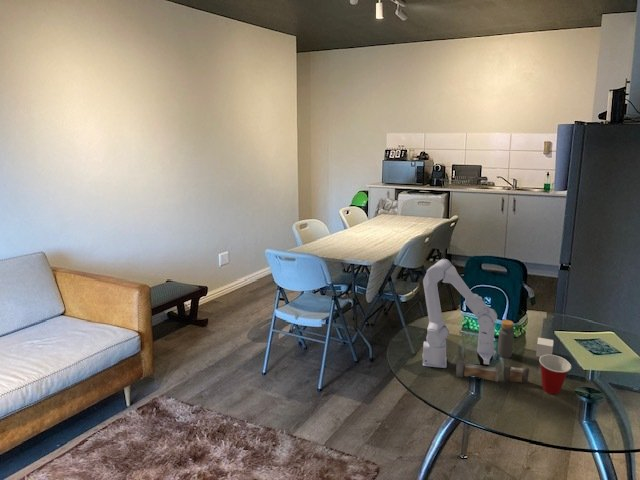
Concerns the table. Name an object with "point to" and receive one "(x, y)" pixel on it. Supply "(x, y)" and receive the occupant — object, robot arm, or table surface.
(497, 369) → the gate
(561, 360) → the plastic cup
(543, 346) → the white cube
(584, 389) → the table surface
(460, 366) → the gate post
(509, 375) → the fence
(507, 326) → the bottle
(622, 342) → the table surface
